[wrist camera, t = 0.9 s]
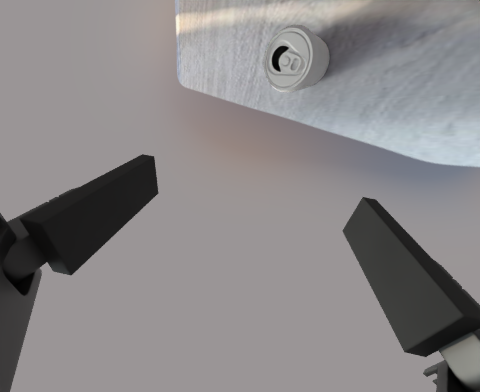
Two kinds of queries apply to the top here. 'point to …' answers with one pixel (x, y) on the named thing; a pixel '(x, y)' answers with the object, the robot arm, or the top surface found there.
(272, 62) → the beverage can
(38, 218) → the robot arm
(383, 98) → the top surface
